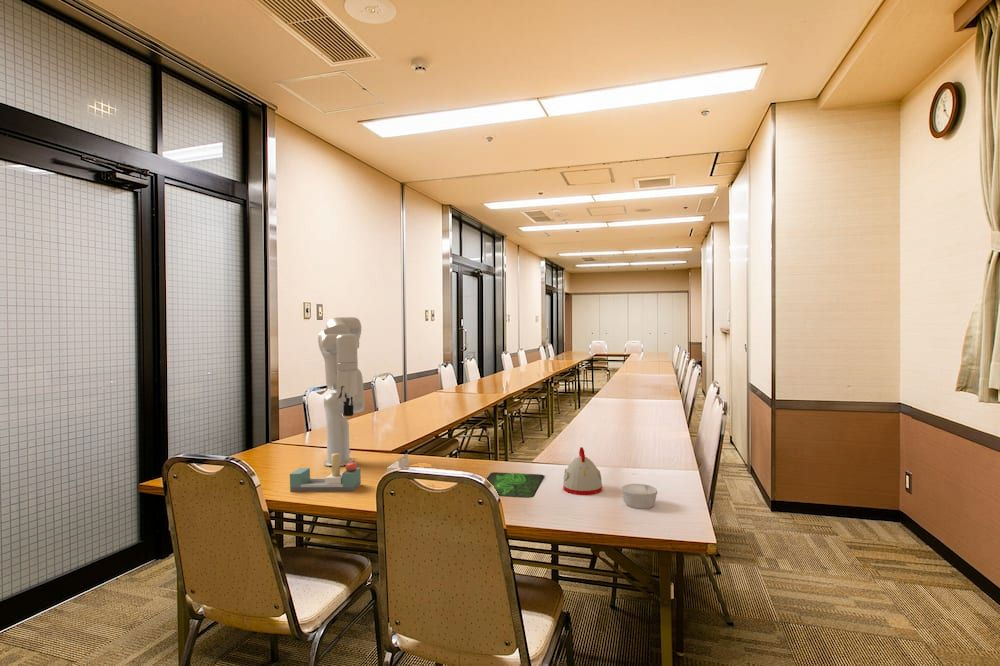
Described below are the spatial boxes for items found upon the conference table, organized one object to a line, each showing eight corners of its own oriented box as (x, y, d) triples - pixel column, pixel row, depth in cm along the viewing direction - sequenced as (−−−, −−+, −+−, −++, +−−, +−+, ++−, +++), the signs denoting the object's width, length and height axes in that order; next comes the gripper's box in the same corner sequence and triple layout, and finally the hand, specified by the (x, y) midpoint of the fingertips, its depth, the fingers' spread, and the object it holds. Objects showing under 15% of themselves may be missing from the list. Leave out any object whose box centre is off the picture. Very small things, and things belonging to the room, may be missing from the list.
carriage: (331, 480, 195) (330, 452, 195) (346, 480, 194) (346, 452, 194) (325, 485, 189) (324, 456, 189) (340, 485, 188) (340, 456, 188)
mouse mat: (533, 499, 175) (533, 496, 175) (472, 495, 180) (471, 493, 180) (545, 476, 201) (544, 473, 201) (491, 474, 206) (491, 471, 206)
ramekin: (665, 507, 163) (664, 490, 163) (636, 513, 159) (636, 496, 159) (642, 497, 173) (641, 481, 173) (615, 502, 169) (614, 486, 169)
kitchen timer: (565, 496, 176) (564, 452, 176) (561, 483, 190) (560, 443, 190) (605, 495, 176) (604, 452, 176) (598, 483, 190) (597, 443, 190)
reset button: (348, 467, 193) (348, 462, 193) (358, 467, 193) (358, 462, 193) (344, 470, 189) (344, 465, 189) (354, 470, 189) (354, 465, 189)
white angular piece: (397, 493, 183) (396, 452, 183) (410, 493, 182) (409, 453, 182) (387, 501, 175) (386, 458, 175) (400, 502, 174) (399, 459, 174)
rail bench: (300, 484, 197) (299, 467, 197) (360, 484, 195) (360, 467, 195) (290, 491, 189) (289, 473, 189) (353, 491, 187) (352, 473, 187)
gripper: (345, 365, 199) (346, 412, 200) (329, 369, 184) (331, 419, 185) (363, 365, 199) (364, 412, 199) (349, 368, 184) (351, 419, 184)
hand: (348, 415), depth 192 cm, fingers closed
